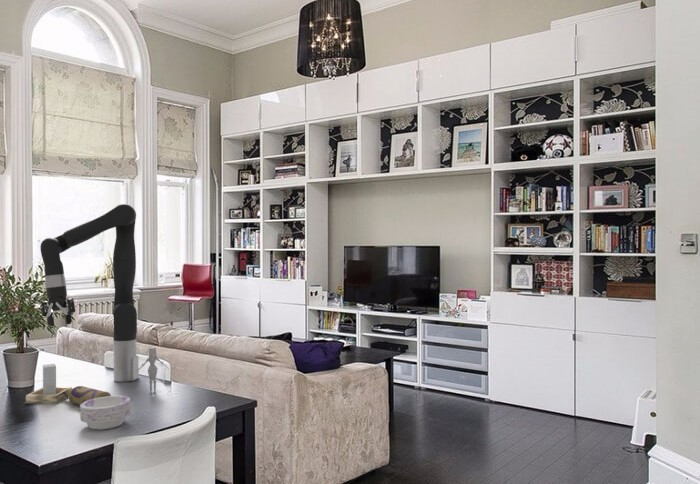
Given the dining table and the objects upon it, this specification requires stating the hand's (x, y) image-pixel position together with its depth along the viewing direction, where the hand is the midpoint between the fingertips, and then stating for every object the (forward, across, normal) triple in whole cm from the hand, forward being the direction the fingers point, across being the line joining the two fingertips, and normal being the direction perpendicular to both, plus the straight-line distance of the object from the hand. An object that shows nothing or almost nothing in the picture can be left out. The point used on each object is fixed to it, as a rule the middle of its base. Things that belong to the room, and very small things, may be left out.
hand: (60, 325), depth 243 cm
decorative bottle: (+29, -27, +21) cm, 45 cm away
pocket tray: (+26, -8, +18) cm, 33 cm away
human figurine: (+31, -42, +2) cm, 52 cm away
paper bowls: (+32, -49, +40) cm, 71 cm away
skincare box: (+26, -8, +18) cm, 33 cm away
